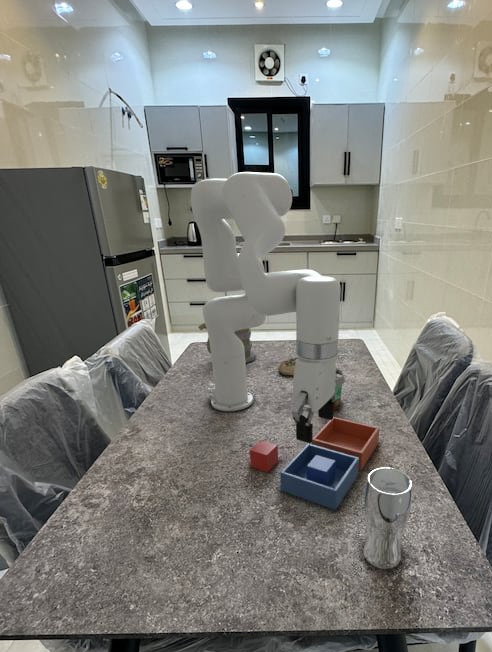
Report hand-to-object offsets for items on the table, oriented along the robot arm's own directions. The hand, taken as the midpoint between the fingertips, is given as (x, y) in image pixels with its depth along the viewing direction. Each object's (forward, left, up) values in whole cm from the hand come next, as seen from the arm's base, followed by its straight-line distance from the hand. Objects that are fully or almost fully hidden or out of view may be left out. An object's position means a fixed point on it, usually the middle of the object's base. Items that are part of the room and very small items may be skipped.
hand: (315, 428), depth 76 cm
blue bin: (+1, 0, -13) cm, 13 cm away
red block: (-13, 0, -13) cm, 18 cm away
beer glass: (+18, -12, -13) cm, 25 cm away
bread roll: (-35, +53, -13) cm, 64 cm away
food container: (-11, +34, -13) cm, 38 cm away
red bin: (+1, +14, -13) cm, 19 cm away
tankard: (-64, +52, -13) cm, 83 cm away
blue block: (+2, 0, -12) cm, 12 cm away
